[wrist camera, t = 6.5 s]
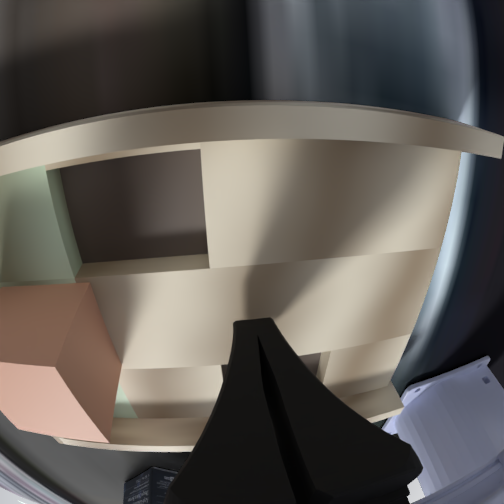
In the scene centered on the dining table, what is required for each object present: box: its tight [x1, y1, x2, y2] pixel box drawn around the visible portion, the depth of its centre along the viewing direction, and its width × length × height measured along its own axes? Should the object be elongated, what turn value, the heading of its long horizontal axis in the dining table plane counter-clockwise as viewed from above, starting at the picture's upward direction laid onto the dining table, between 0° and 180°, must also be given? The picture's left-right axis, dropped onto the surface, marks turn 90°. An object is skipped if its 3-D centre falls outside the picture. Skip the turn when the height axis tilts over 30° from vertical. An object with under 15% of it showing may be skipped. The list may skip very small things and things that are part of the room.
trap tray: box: [0, 100, 504, 452], centre depth 11 cm, size 20×16×3 cm
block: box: [0, 282, 122, 443], centre depth 9 cm, size 4×4×4 cm
